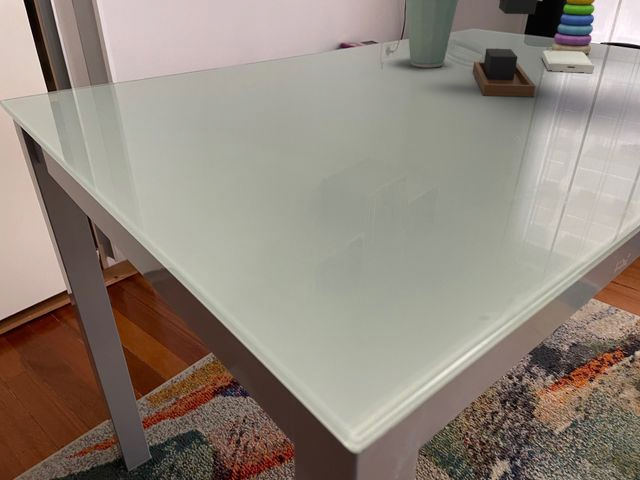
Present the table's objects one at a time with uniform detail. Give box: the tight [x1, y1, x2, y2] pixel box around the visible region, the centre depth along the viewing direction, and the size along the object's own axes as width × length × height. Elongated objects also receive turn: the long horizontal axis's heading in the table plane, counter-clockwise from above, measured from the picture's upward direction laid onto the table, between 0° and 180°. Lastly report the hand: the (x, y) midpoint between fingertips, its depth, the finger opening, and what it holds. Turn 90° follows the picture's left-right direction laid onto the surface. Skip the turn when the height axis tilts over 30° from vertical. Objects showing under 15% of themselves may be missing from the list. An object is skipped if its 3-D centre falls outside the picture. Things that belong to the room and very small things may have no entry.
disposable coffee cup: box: [405, 0, 459, 68], centre depth 103 cm, size 11×11×15 cm
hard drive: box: [541, 49, 595, 74], centre depth 106 cm, size 2×8×12 cm
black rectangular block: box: [483, 48, 518, 80], centre depth 96 cm, size 4×7×4 cm, turn 172°
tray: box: [472, 61, 537, 97], centre depth 94 cm, size 8×17×2 cm, turn 172°
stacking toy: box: [551, 0, 596, 55], centre depth 112 cm, size 8×8×19 cm
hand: (518, 0), depth 84 cm, fingers closed on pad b, 4 cm apart
